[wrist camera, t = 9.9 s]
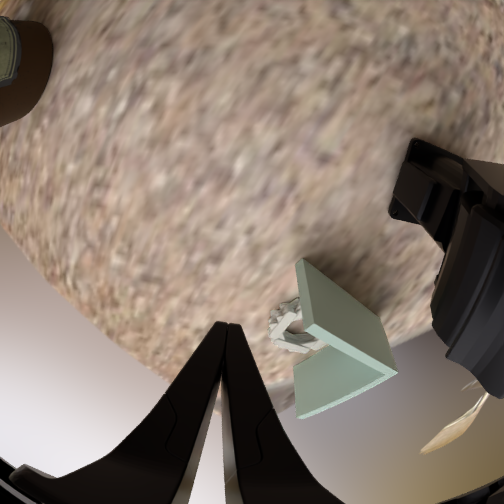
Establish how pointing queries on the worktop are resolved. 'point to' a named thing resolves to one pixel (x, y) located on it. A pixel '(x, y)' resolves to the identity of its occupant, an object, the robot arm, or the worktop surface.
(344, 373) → the right angle wall
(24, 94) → the olive oil
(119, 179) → the worktop surface
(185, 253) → the worktop surface
